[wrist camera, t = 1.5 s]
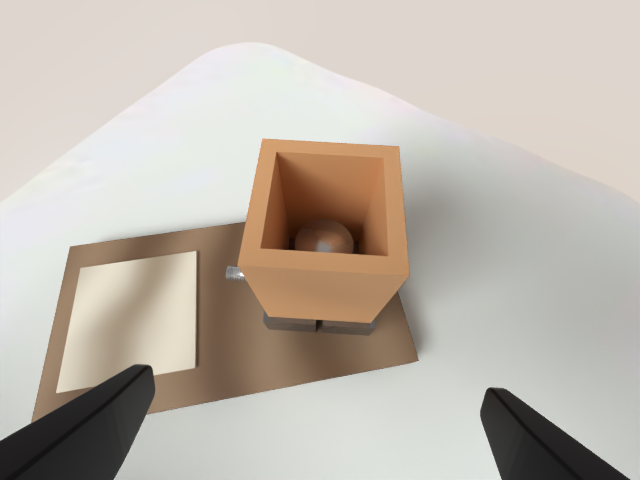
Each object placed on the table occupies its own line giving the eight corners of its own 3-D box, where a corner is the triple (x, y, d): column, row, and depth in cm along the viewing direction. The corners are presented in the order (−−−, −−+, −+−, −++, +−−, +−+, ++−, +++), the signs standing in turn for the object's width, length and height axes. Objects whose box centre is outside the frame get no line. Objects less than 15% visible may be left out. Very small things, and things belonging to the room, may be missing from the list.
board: (368, 214, 26) (371, 202, 24) (411, 362, 20) (419, 360, 19) (84, 254, 23) (68, 245, 22) (49, 433, 18) (24, 437, 17)
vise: (368, 335, 20) (391, 312, 14) (222, 326, 20) (185, 299, 14) (367, 245, 23) (386, 194, 17) (241, 237, 23) (215, 184, 17)
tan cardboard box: (370, 323, 17) (409, 276, 10) (268, 316, 18) (237, 265, 10) (369, 233, 20) (399, 146, 13) (280, 227, 20) (262, 138, 13)
